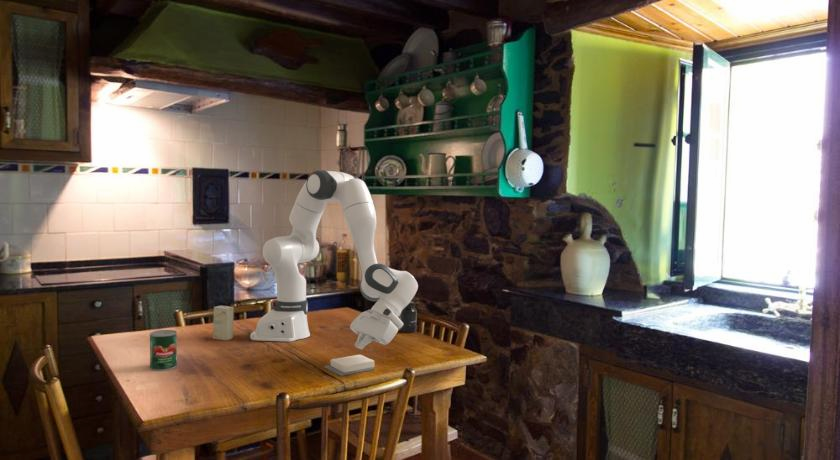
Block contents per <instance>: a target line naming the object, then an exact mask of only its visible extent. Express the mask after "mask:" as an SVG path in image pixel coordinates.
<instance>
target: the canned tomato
mask: <svg viewBox="0 0 840 460" xmlns="http://www.w3.org/2000/svg"><path fill="white" fill-rule="evenodd" d="M177 333H178V332H177V330H174V329H162V330H155V331H151V332H150V333H149V369H150V370H151V371H156V372H160V371H162V372H163V371H169V370H173V369H175V368H177V366H178V363H177V362H178V355H177V354H178V349H177V348H178V347H177V346H178V344H177V343H178V341H177V339H178V338H177V337H178V335H177Z"/></svg>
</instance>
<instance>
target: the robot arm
mask: <svg viewBox="0 0 840 460" xmlns="http://www.w3.org/2000/svg"><path fill="white" fill-rule="evenodd" d="M328 202H332V203H338V202H339V203H340V205H341V210H342V213H343V218H344V220H345V224H346V226H347V228H348V231H349V233H350V235H351V238H352V241H353V244H354V247H355V250H356V253H357V254H356V255H357V258H358V262H359V267H360V272H361V273H360V274H361V279H360V283H359V290H360V293H361V295H362V297H363V298H365V300H368V301H370V302H375V303H374V305H372V307H371V309H368V310H365V311H363V312H360V313H359V314H358V316H356V318H354V320H353V321H352V322H351V323H350V325H349V328H350V330H352V332H353V333H355V334H357V335H358V336H357V340H356V342H355V343H354V347H356V348H357V349H359V350H361V351H362V350H363V349H364V348H365V347H366V346H368V345H369V344H370V343H372V341H374V342H377V343H379V344H381V345H384V346H386V345H388V344H389V343H391V341H392V340H393V339H394V337H395V336H396V335H397V333H398V331H399V330H400V328H401V327H402V326H403V322H402V321H401V320H400V314H401V312H402V310H403V309H404V308H405V307H406V306H407V305H408V304H409V303H410V301H412V300H413V299H414V297H415V295H416V294H417V291H418V289H419V284H418V281H417V279H416V278H415V277H414V275H412V273H410V272H408V271H407V270H397V269H394V268H391V267H390V266H389V267H388V266H386V265H385V264H382V263H378V260H377V254H376V250H375V246H374V245H375V235H376V230H377V213H376V208H375V204H374V201H373V197H372V195H371V192H370V190H369V188H368V186H367V184H366V182H365V181H363V179H360V178H359V177H357V176H356V175H354V174H352V173H347V172H346V173H345V172H342V171H337V170H336V171H335V170H333V171H332V170H324V169H318V170H314V171H312V172H311V173H310V174H309V175H308V176H307V179H306V181H305V182H304V184H303V186H302V187H301V189H300V191H299V192H298V195H297V197H296V199H295V202H294V204H293V207H292V209H291V211H290V213H289V218H288V219H289V221H288V222H290V225H291V226H292V231H291V234H290V235H284V236H283V235H282V236H275V237H273V238H271V239H268V240H267V241H265V243H264V245H263V246H262V255H263V259H264V260H265V262H266V263H267V264H268V265H269V266H271V268H272V271H273V273H274V275H275V280H276V298H274V299H272V300H271V310H270V311H268V312H267V313H265V314H264V315H263V316H262V317H261V318H260V319H258V321H257V324H256V329H255V330H253V331H252V332H251V333H250V335H249V338H250V340H252V341H263V342H266V341H268V342H290V343H291V342H294V341H296V340H303V339H305V338H308V337H310V336H311V333H310V330H309V329H310V328H309V325H308V315H307V314H308V309H309V307H308V305H309V304H308V303H309V302H308V299H307V279H306V278H305V277H304V275H302V274H301V273H300V271H299V267H298V264H303V263H304V264H305V263H308V262H310V261H313V260H314V259H316V258H317V256H318V255H319V253H320V243H319V241H318V239H317V231H318V227H319V225H320V221H321V219H322V216H323V214H324V211H325V210H326V208H327V205H328Z"/></svg>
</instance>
